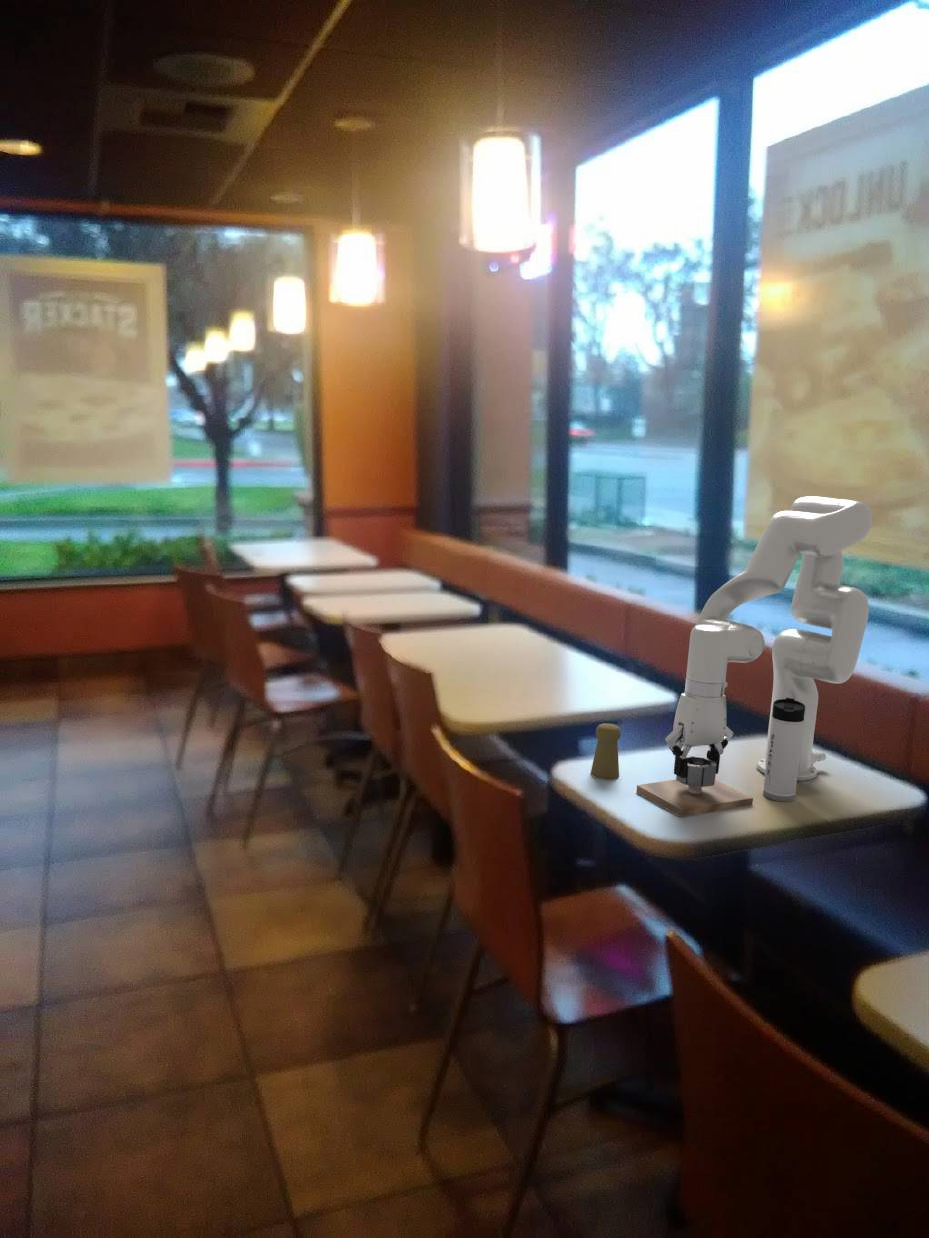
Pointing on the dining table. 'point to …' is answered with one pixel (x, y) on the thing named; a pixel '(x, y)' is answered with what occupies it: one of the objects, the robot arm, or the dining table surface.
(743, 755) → the dining table surface
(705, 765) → the steel ring
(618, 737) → the cork
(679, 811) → the board
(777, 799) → the travel mug
